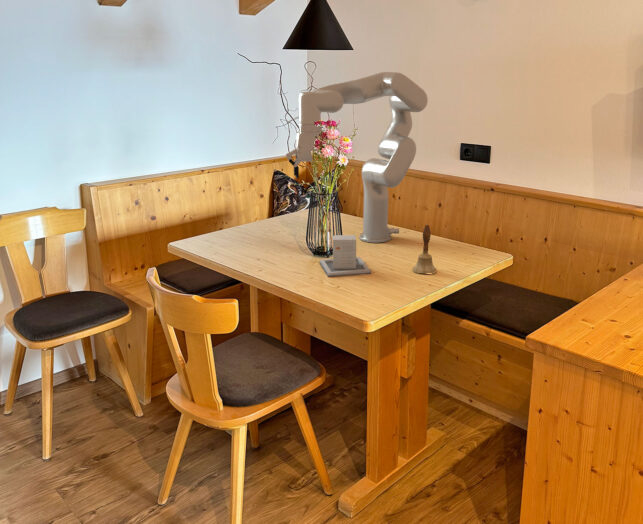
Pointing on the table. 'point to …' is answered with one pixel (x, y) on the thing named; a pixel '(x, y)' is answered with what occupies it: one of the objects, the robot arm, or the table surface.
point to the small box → (344, 252)
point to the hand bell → (425, 255)
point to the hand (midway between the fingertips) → (310, 177)
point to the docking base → (330, 272)
